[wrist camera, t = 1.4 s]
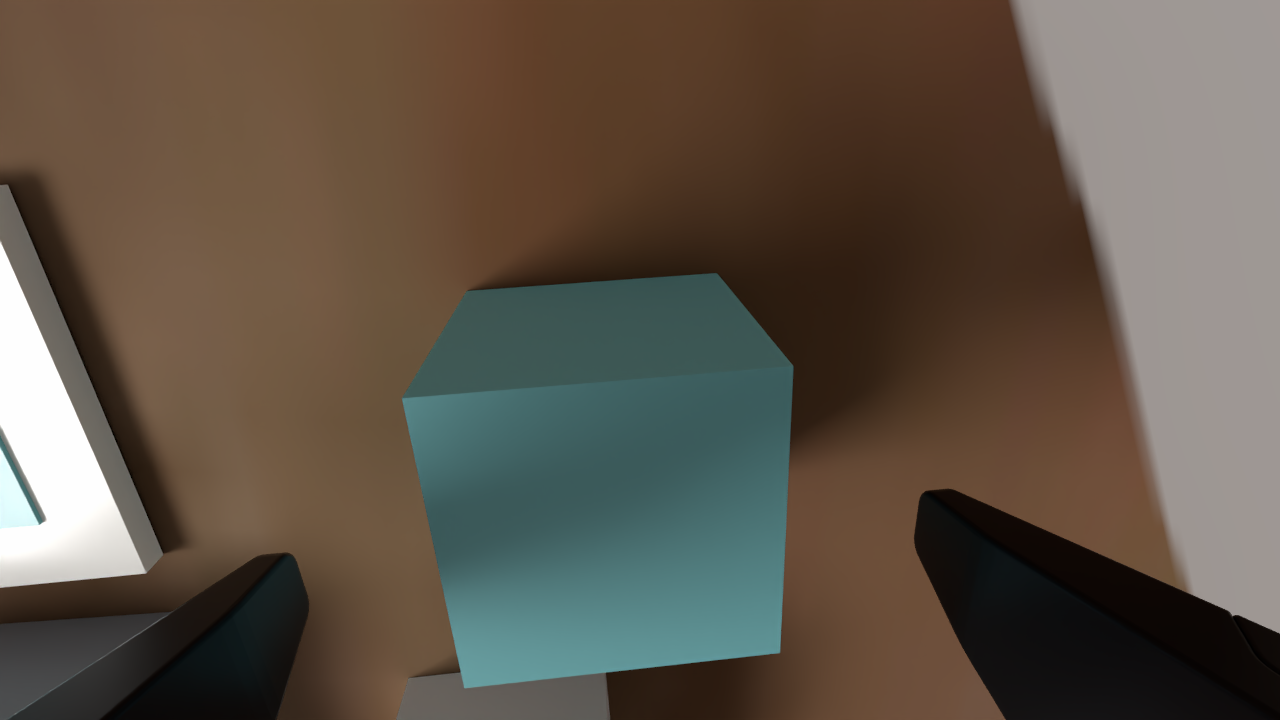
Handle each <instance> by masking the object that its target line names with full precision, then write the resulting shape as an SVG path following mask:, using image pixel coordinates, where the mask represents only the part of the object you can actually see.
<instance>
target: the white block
mask: <svg viewBox="0 0 1280 720" xmlns="http://www.w3.org/2000/svg"><path fill="white" fill-rule="evenodd" d="M396 720H610V711H609V700H608V690H607V680H606V673H597V674H588V675H579V676H570V677H561V678H552V679H544V680H535V681H526V682H517V683H508V684H499V685H490V686H481V687H472V688H464V684H463V680H462V675H461V672H460V673H451V674H442V675H433V676H423V677H414V678H408V681H407V685H406V688H405V692H404V695H403V698H402V702H401V705H400V708H399V712H398V715H397V718H396Z"/></svg>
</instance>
